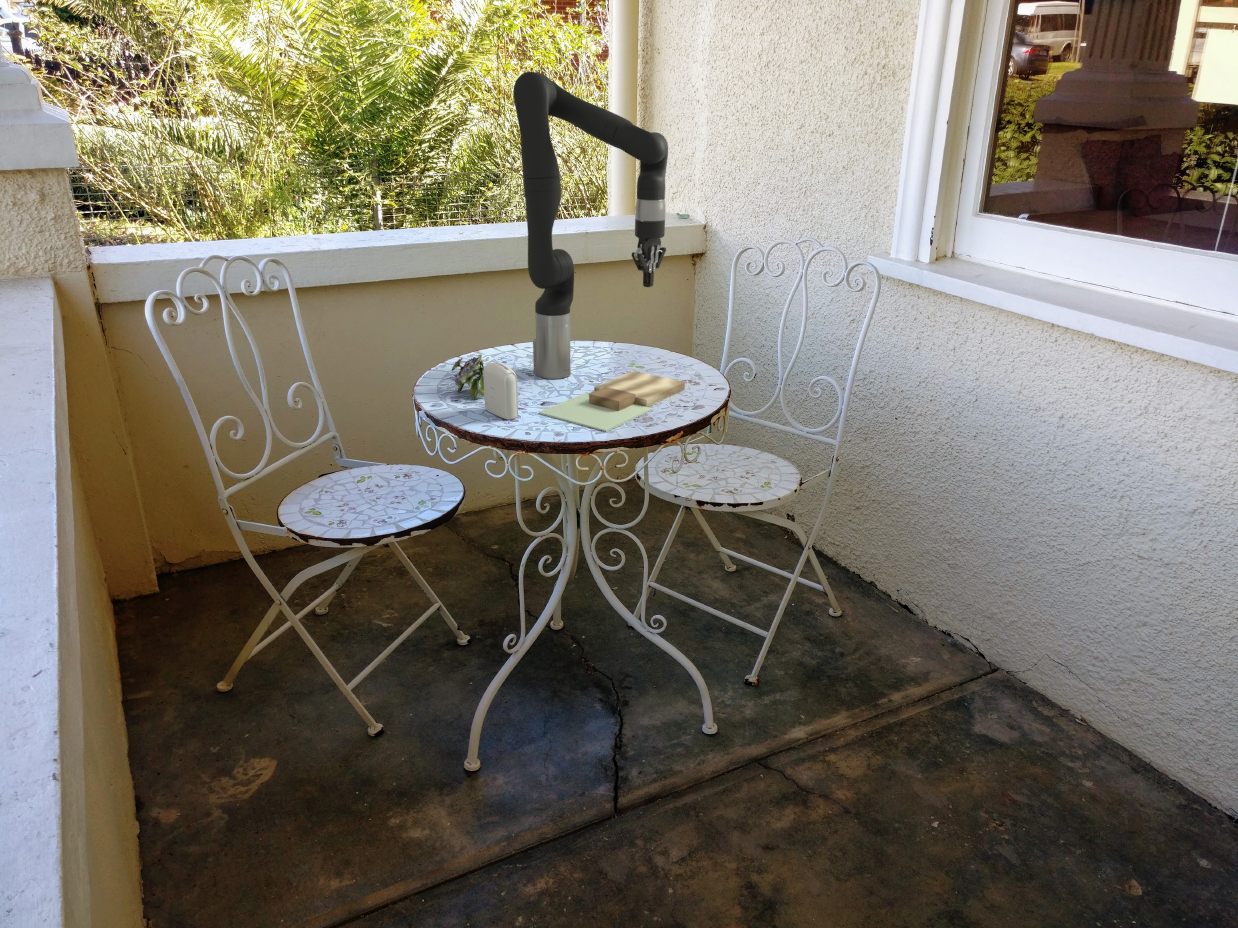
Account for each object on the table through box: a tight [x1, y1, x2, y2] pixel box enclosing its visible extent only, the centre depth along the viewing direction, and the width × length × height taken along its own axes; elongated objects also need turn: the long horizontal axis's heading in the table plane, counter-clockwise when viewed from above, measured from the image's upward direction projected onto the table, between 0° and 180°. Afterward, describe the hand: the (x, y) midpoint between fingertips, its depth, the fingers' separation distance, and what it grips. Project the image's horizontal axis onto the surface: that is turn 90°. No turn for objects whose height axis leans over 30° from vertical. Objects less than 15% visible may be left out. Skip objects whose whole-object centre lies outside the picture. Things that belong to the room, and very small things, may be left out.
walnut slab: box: [589, 387, 635, 411], centre depth 217 cm, size 9×7×2 cm
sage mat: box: [538, 391, 653, 433], centre depth 213 cm, size 20×19×1 cm
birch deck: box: [593, 370, 686, 408], centre depth 227 cm, size 16×18×2 cm
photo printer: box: [483, 361, 519, 420], centre depth 208 cm, size 10×4×12 cm, turn 39°
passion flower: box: [451, 353, 485, 401], centre depth 224 cm, size 11×11×12 cm
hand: (648, 286), depth 228 cm, fingers closed
